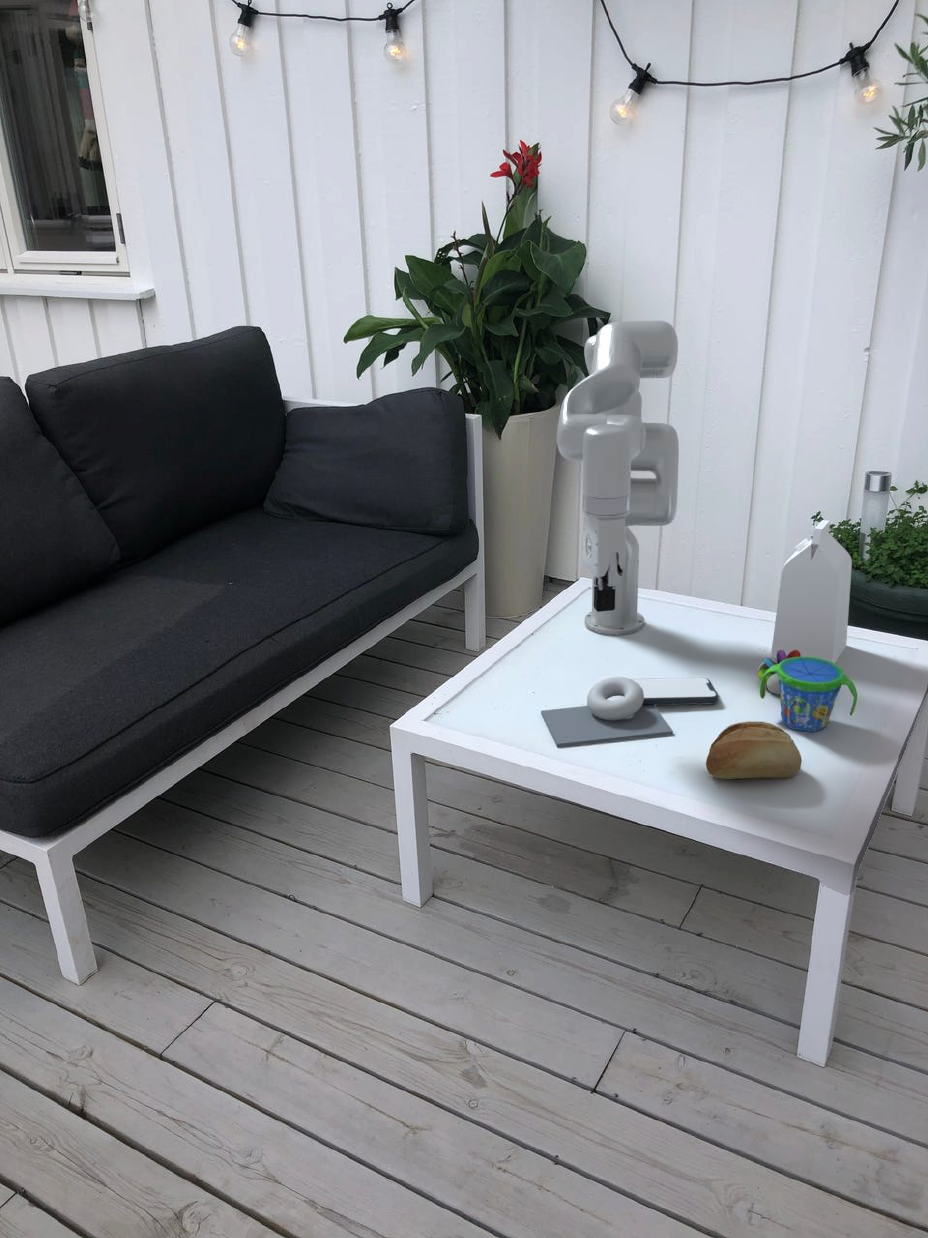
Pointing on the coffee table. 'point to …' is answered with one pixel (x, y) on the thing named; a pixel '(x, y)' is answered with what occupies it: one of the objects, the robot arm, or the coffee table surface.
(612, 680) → the donut
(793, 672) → the snack cup
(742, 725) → the bread roll
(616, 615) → the robot arm
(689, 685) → the smartphone
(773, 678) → the multicolored rounded-lobe toy
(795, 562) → the milk
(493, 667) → the coffee table surface
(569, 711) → the mat
